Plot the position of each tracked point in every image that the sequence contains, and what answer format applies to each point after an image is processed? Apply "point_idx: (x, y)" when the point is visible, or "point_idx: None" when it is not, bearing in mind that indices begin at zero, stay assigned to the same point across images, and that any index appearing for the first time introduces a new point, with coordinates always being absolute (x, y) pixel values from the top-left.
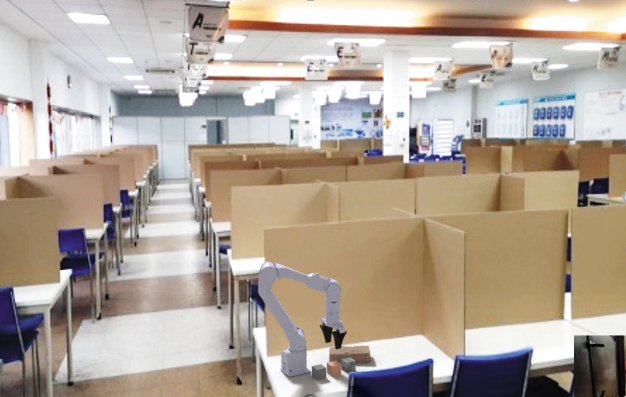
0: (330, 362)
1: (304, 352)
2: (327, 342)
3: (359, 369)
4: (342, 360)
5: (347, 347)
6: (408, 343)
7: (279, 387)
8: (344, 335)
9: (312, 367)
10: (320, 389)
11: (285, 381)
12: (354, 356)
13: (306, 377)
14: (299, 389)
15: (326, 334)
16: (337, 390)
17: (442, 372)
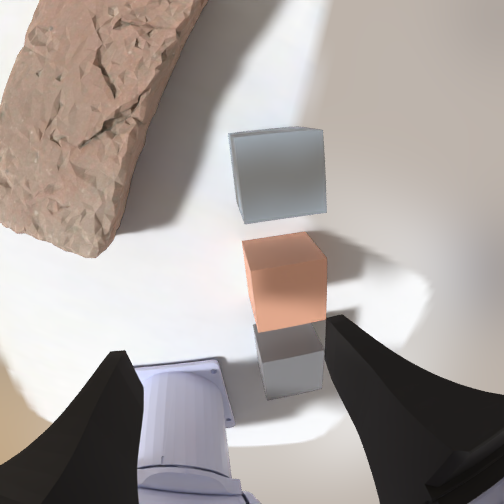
0: (264, 312)
1: (222, 465)
2: (139, 382)
3: (289, 94)
4: (261, 220)
5: (22, 89)
6: None
7: (295, 441)
8: (474, 400)
9: (274, 395)
10: None
11: (261, 430)
12: (166, 71)
13: (261, 380)
14: (341, 405)
15: (127, 459)
16: (426, 302)
17: None
